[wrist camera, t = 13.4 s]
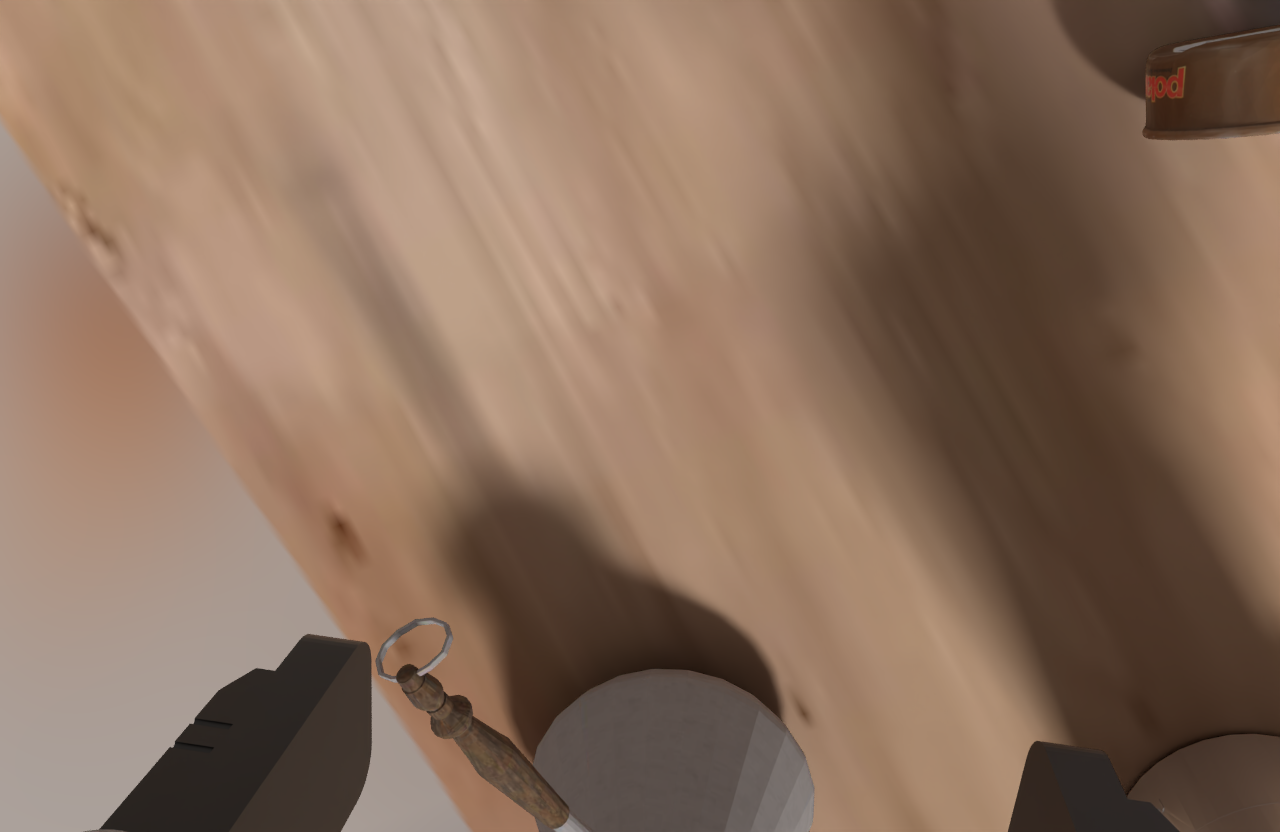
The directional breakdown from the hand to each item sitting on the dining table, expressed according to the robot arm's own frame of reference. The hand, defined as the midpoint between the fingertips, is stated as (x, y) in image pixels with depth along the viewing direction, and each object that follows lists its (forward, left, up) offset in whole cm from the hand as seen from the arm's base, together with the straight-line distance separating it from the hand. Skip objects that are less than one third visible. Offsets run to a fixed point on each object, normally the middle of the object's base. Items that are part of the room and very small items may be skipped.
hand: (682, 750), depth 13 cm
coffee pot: (+2, +17, -27) cm, 32 cm away
